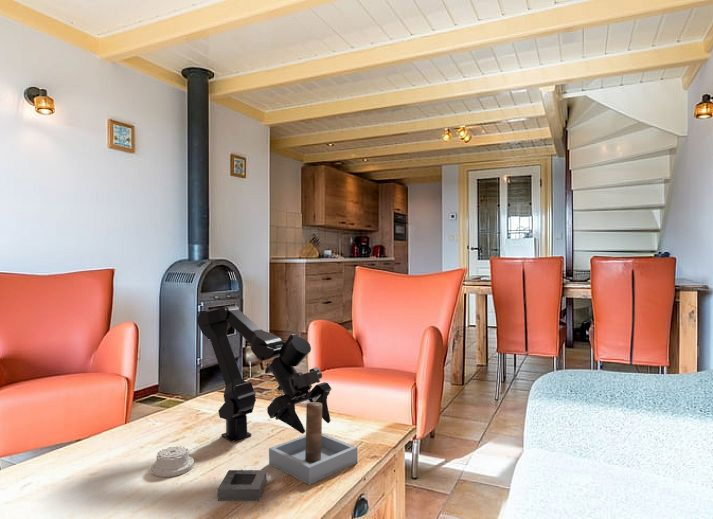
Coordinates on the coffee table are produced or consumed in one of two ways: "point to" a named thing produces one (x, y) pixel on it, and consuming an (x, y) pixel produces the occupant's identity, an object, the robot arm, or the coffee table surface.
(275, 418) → the robot arm
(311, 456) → the pin
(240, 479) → the gray square socket plate
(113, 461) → the coffee table surface
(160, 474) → the mechanical component
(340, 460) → the tray
